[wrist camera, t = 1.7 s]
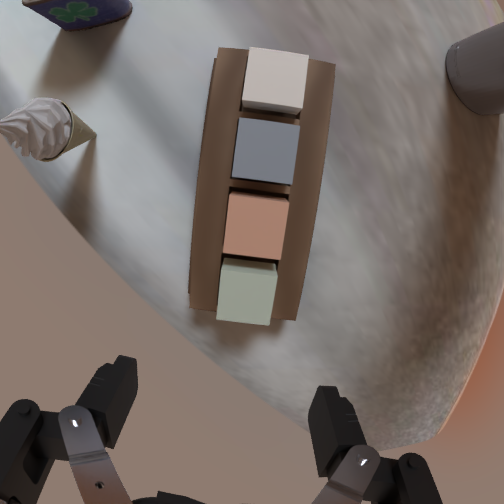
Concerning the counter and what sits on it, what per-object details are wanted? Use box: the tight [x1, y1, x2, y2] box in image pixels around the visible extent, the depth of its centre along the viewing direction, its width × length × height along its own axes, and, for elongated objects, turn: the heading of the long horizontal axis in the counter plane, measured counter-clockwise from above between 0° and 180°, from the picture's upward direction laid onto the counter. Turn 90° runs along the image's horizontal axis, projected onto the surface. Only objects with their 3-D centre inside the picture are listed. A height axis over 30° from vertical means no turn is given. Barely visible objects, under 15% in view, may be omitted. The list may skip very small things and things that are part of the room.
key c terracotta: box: [223, 191, 289, 260], centre depth 23 cm, size 4×4×3 cm
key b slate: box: [232, 117, 300, 185], centre depth 22 cm, size 4×4×3 cm
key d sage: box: [216, 258, 278, 326], centre depth 25 cm, size 4×4×3 cm
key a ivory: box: [242, 47, 309, 115], centre depth 20 cm, size 4×4×3 cm
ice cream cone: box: [0, 97, 96, 162], centre depth 19 cm, size 5×5×15 cm
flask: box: [22, 0, 132, 31], centre depth 17 cm, size 9×3×11 cm, turn 85°
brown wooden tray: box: [188, 47, 336, 321], centre depth 26 cm, size 11×23×4 cm, turn 173°
